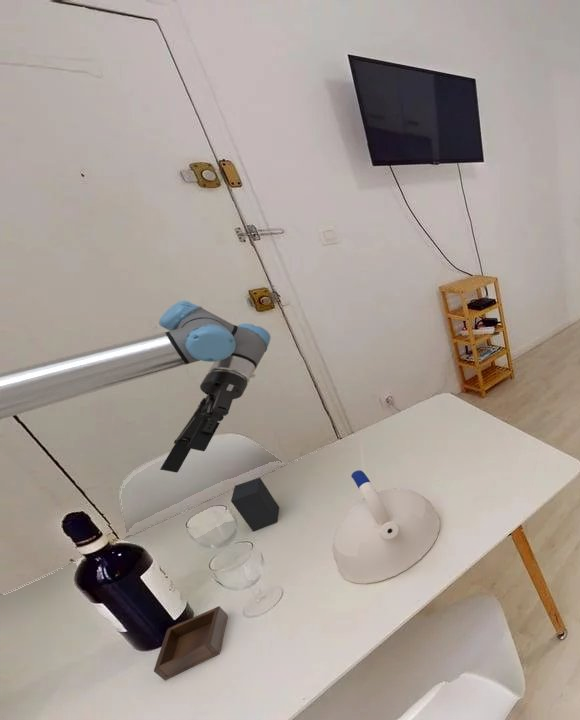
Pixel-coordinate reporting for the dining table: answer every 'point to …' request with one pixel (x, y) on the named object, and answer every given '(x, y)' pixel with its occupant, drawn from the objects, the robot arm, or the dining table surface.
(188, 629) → the tray
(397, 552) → the white plastic funnel
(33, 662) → the dining table surface
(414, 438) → the dining table surface
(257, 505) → the dark gray block
